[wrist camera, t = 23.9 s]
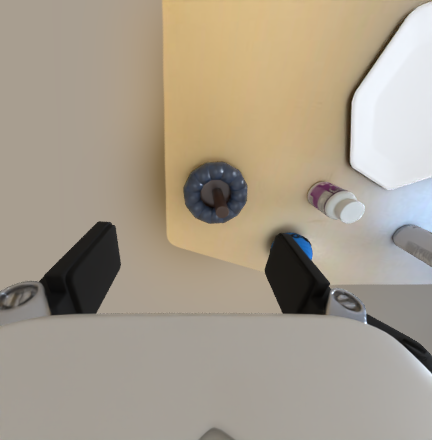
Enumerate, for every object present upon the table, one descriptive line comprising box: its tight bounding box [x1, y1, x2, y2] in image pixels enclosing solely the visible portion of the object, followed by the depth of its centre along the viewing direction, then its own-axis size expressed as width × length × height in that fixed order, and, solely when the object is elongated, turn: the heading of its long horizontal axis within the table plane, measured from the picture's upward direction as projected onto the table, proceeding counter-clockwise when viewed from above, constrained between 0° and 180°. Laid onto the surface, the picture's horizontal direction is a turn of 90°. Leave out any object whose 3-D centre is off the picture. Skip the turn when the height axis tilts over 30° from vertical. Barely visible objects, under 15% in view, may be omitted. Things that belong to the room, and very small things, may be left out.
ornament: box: [270, 233, 312, 260], centre depth 39 cm, size 9×9×10 cm
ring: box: [184, 162, 247, 224], centre depth 34 cm, size 12×12×3 cm
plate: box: [349, 1, 432, 190], centre depth 32 cm, size 28×28×2 cm
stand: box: [201, 180, 231, 218], centre depth 32 cm, size 8×8×10 cm
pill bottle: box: [308, 182, 365, 223], centre depth 34 cm, size 5×5×10 cm
